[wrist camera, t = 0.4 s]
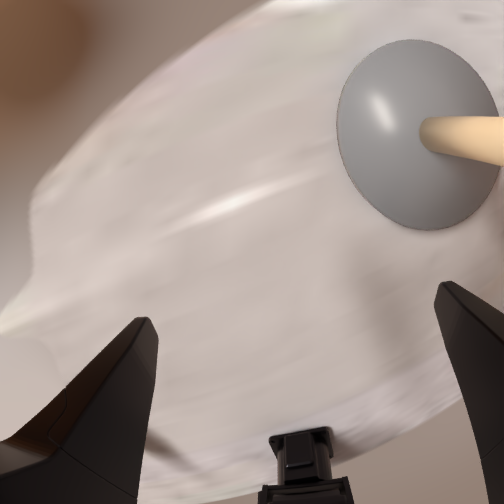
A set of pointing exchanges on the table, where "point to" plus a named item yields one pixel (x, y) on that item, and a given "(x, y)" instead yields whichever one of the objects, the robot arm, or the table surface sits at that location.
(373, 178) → the cover
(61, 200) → the table surface
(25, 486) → the robot arm
